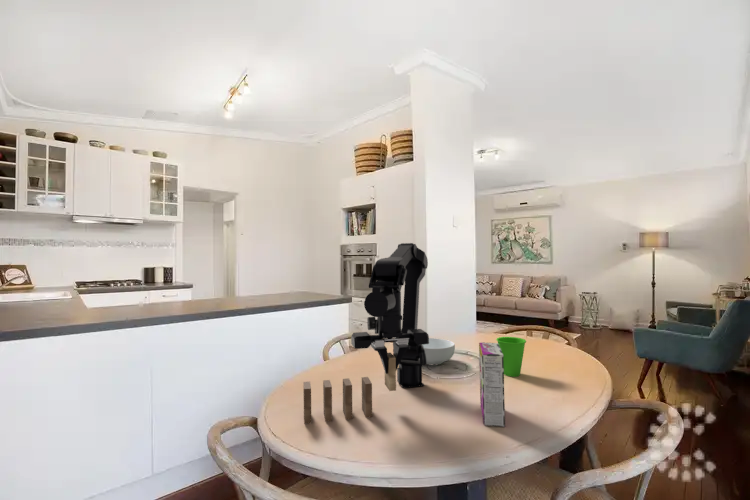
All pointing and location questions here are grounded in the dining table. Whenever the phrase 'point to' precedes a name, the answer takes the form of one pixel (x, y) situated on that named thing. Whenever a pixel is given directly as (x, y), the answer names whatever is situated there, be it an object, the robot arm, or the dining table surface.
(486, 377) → the candy bar box
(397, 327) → the robot arm
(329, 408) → the domino
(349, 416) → the domino
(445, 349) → the cereal bowl
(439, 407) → the dining table surface
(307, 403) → the domino
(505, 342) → the cup
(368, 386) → the domino
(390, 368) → the domino
